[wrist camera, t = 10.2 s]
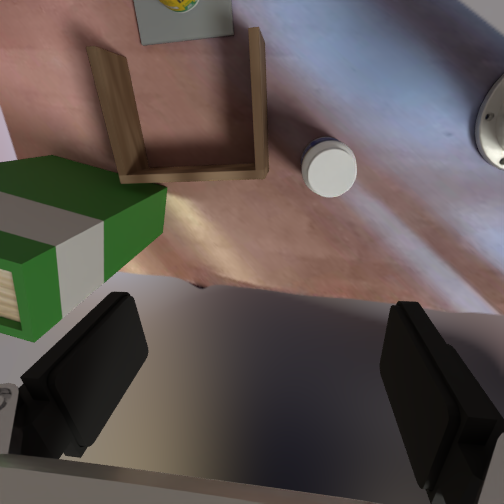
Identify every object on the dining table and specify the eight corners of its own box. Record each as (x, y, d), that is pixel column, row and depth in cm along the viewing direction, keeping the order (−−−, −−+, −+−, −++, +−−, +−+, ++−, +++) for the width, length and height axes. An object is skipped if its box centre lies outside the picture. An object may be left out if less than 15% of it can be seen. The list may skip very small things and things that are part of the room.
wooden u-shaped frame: (264, 42, 31) (258, 26, 26) (269, 170, 37) (264, 178, 32) (118, 58, 34) (85, 46, 28) (144, 175, 40) (120, 183, 34)
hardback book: (56, 202, 44) (-173, 281, 22) (52, 154, 40) (-222, 194, 19) (162, 232, 43) (34, 342, 22) (167, 187, 40) (21, 264, 19)
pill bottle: (299, 139, 35) (300, 146, 26) (346, 133, 34) (364, 137, 25) (301, 185, 37) (304, 205, 28) (345, 180, 36) (362, 199, 27)
